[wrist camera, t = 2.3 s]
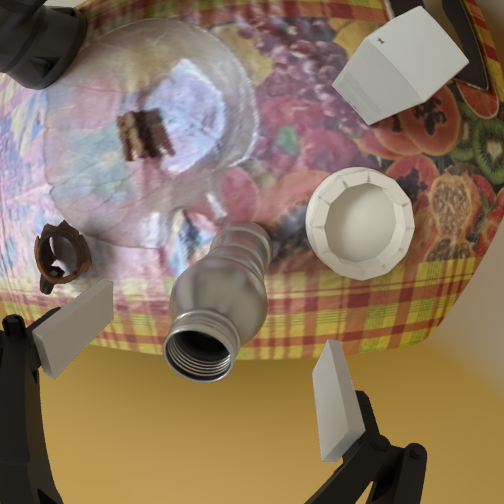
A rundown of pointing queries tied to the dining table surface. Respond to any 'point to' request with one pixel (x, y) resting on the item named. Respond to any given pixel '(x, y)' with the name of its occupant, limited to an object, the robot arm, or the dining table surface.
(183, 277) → the plastic bottle
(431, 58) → the small box
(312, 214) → the bowl
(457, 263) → the dining table surface
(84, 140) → the dining table surface
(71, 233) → the broken clay pot
